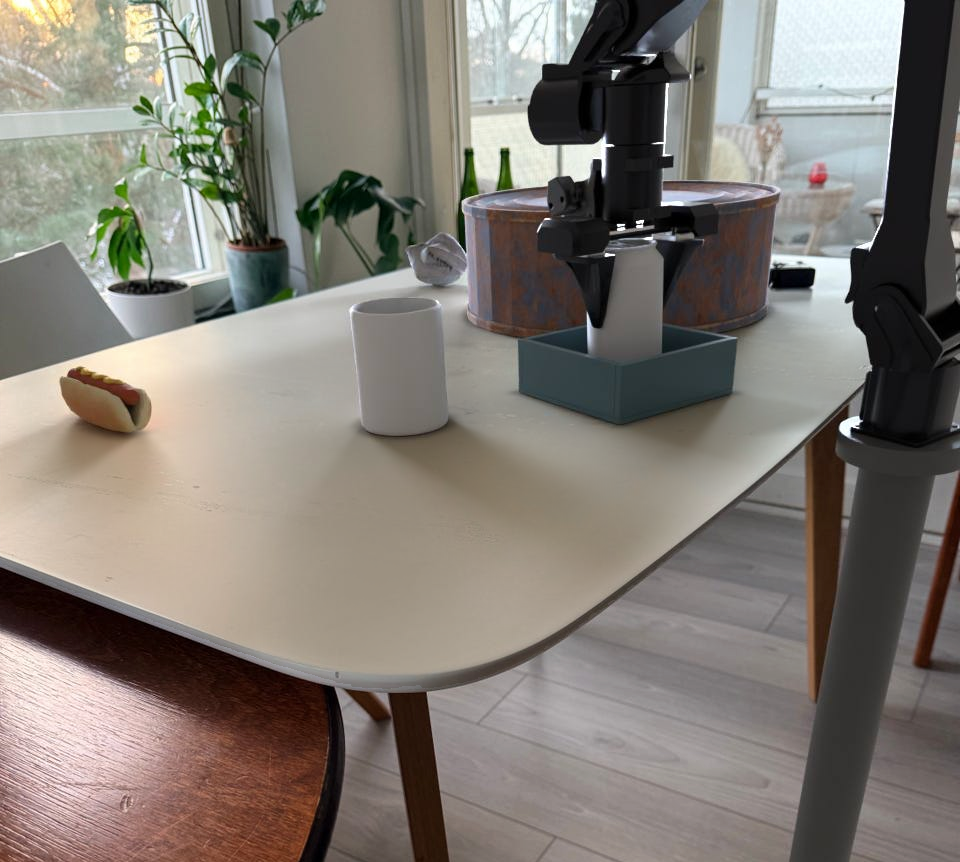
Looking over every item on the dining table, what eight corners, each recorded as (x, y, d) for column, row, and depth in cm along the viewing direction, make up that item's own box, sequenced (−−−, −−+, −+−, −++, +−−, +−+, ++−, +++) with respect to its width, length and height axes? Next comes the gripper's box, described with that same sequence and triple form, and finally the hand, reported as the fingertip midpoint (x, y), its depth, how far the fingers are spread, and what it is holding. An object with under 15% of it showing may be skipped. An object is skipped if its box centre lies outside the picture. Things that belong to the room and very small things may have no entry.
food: (56, 416, 96) (43, 368, 93) (106, 404, 99) (94, 358, 97) (115, 443, 87) (102, 391, 85) (168, 428, 91) (157, 378, 88)
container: (631, 273, 157) (634, 176, 150) (835, 307, 126) (852, 187, 118) (414, 308, 138) (405, 200, 131) (589, 359, 107) (592, 220, 99)
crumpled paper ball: (399, 289, 154) (395, 238, 150) (413, 280, 161) (409, 231, 157) (463, 288, 152) (461, 236, 147) (474, 279, 159) (472, 229, 155)
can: (644, 379, 89) (645, 248, 83) (575, 374, 93) (571, 248, 86) (672, 359, 94) (675, 234, 88) (606, 355, 98) (605, 235, 92)
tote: (732, 393, 93) (738, 337, 90) (619, 425, 85) (621, 366, 83) (626, 365, 104) (628, 315, 101) (518, 392, 96) (517, 338, 94)
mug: (431, 438, 84) (422, 315, 79) (347, 433, 87) (333, 313, 81) (471, 402, 94) (465, 290, 88) (394, 398, 96) (385, 289, 91)
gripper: (645, 138, 93) (639, 298, 101) (498, 150, 84) (504, 325, 92) (729, 137, 85) (715, 311, 93) (577, 151, 76) (576, 342, 84)
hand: (627, 321), depth 91 cm, fingers closed on can, 8 cm apart
